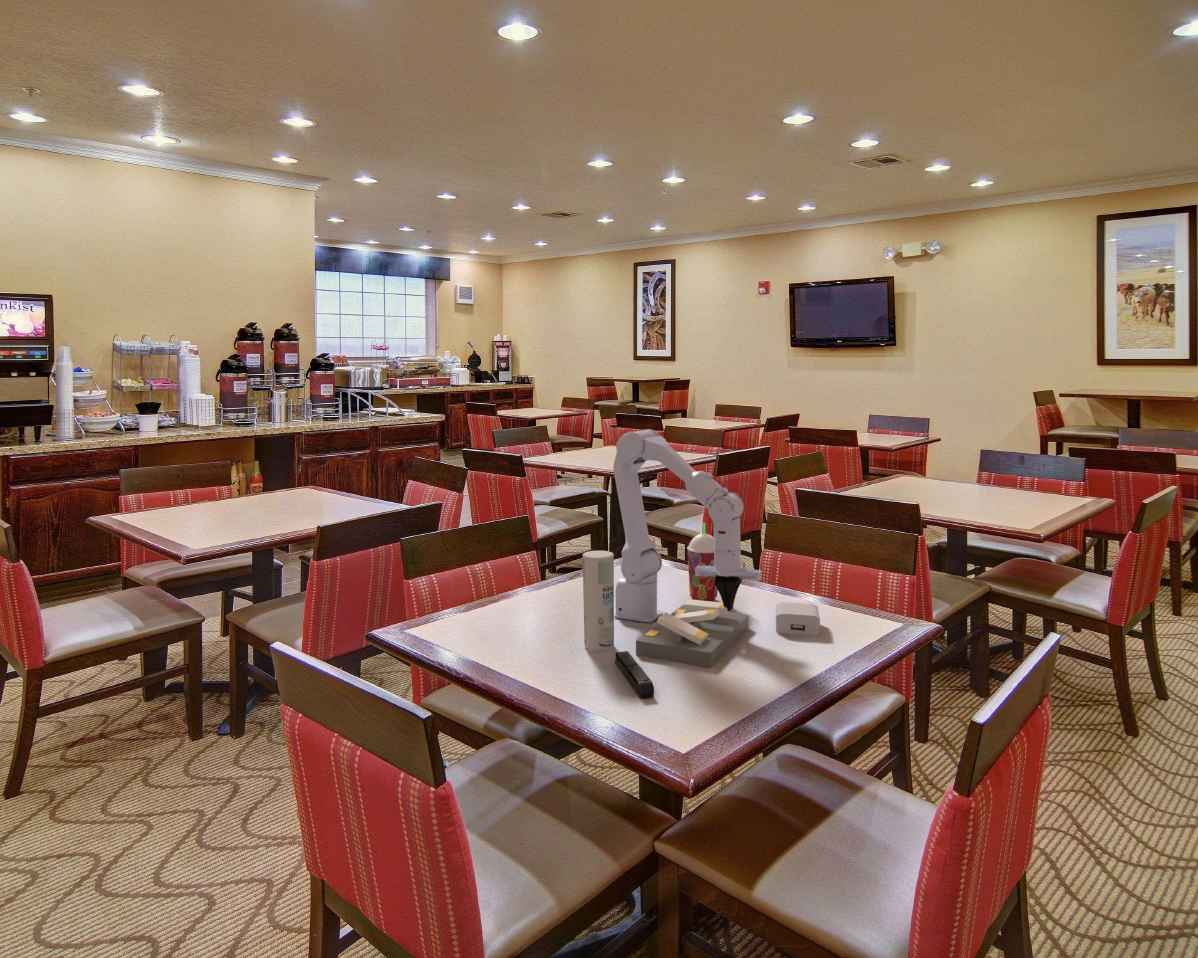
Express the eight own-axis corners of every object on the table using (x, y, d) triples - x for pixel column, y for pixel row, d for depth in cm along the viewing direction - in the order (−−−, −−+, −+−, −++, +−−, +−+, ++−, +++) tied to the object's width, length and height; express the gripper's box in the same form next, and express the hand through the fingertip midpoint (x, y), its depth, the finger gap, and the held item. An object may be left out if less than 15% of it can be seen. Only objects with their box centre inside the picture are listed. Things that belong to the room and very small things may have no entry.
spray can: (604, 653, 156) (603, 559, 153) (577, 648, 159) (576, 555, 156) (620, 644, 161) (619, 552, 158) (594, 638, 164) (593, 549, 162)
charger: (815, 615, 179) (819, 637, 165) (775, 613, 181) (775, 634, 167) (816, 596, 179) (820, 616, 164) (776, 594, 181) (776, 613, 166)
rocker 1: (656, 622, 155) (658, 617, 155) (664, 617, 159) (665, 611, 158) (700, 645, 151) (702, 639, 151) (706, 638, 155) (708, 633, 155)
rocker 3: (683, 609, 170) (683, 603, 170) (689, 604, 173) (689, 598, 173) (726, 613, 165) (726, 608, 165) (731, 608, 169) (731, 603, 168)
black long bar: (654, 699, 134) (654, 683, 134) (640, 701, 134) (640, 685, 133) (626, 662, 151) (626, 648, 151) (614, 664, 151) (614, 649, 150)
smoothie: (725, 599, 192) (726, 521, 190) (711, 607, 185) (712, 527, 183) (695, 594, 197) (696, 518, 194) (681, 602, 190) (681, 524, 187)
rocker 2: (670, 624, 163) (668, 618, 163) (677, 619, 166) (675, 613, 166) (713, 619, 158) (711, 613, 158) (719, 613, 162) (718, 608, 162)
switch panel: (635, 654, 155) (635, 634, 154) (681, 617, 178) (682, 600, 177) (710, 667, 148) (710, 646, 147) (748, 627, 171) (748, 609, 170)
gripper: (689, 551, 165) (691, 611, 167) (754, 555, 158) (755, 618, 160) (700, 544, 171) (702, 602, 173) (763, 548, 165) (764, 608, 166)
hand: (728, 609), depth 167 cm, fingers closed, pressing on rocker 3
